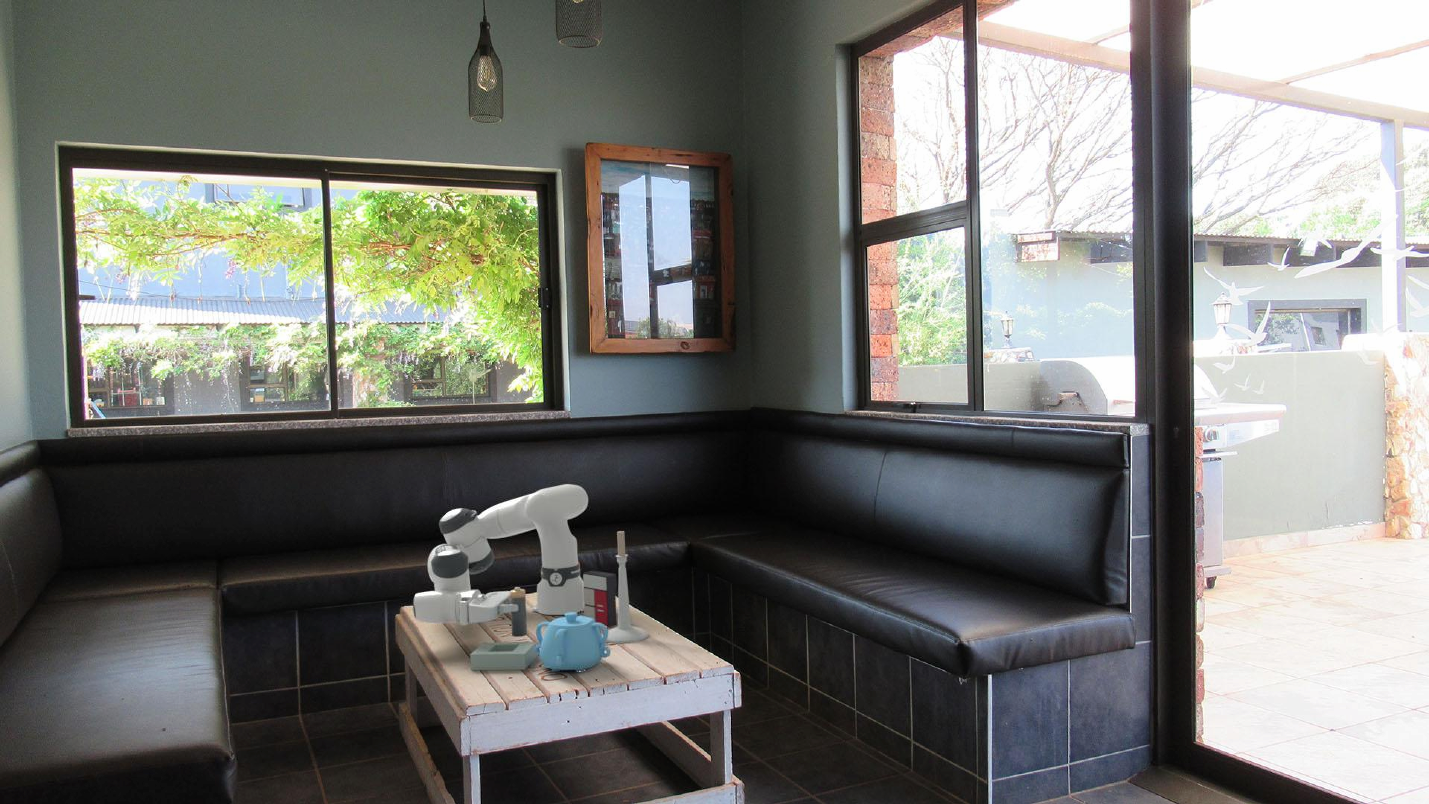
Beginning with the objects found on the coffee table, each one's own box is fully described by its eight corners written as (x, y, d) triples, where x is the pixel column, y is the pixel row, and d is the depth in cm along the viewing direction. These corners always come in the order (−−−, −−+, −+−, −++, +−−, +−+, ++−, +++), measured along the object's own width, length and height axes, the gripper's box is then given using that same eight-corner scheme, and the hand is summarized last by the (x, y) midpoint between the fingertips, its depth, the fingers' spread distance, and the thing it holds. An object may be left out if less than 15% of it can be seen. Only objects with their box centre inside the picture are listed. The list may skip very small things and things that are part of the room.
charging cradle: (484, 657, 262) (484, 642, 262) (537, 657, 261) (536, 641, 261) (470, 670, 251) (470, 654, 251) (525, 669, 250) (524, 653, 250)
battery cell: (514, 632, 272) (512, 586, 271) (528, 632, 272) (526, 586, 271) (510, 636, 268) (508, 589, 268) (524, 636, 268) (522, 589, 267)
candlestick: (647, 642, 272) (643, 532, 271) (600, 644, 271) (596, 534, 270) (648, 630, 284) (644, 525, 283) (603, 632, 284) (598, 527, 283)
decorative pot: (594, 654, 262) (592, 602, 262) (614, 669, 247) (612, 614, 247) (533, 664, 255) (531, 611, 255) (550, 680, 240) (548, 624, 240)
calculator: (583, 623, 296) (580, 572, 295) (594, 620, 299) (592, 570, 298) (607, 628, 288) (605, 576, 288) (618, 625, 291) (616, 574, 291)
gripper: (484, 608, 281) (532, 607, 280) (459, 627, 261) (511, 626, 259) (483, 586, 281) (531, 585, 280) (458, 603, 260) (510, 602, 259)
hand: (521, 605), depth 269 cm, fingers closed on battery cell, 4 cm apart
